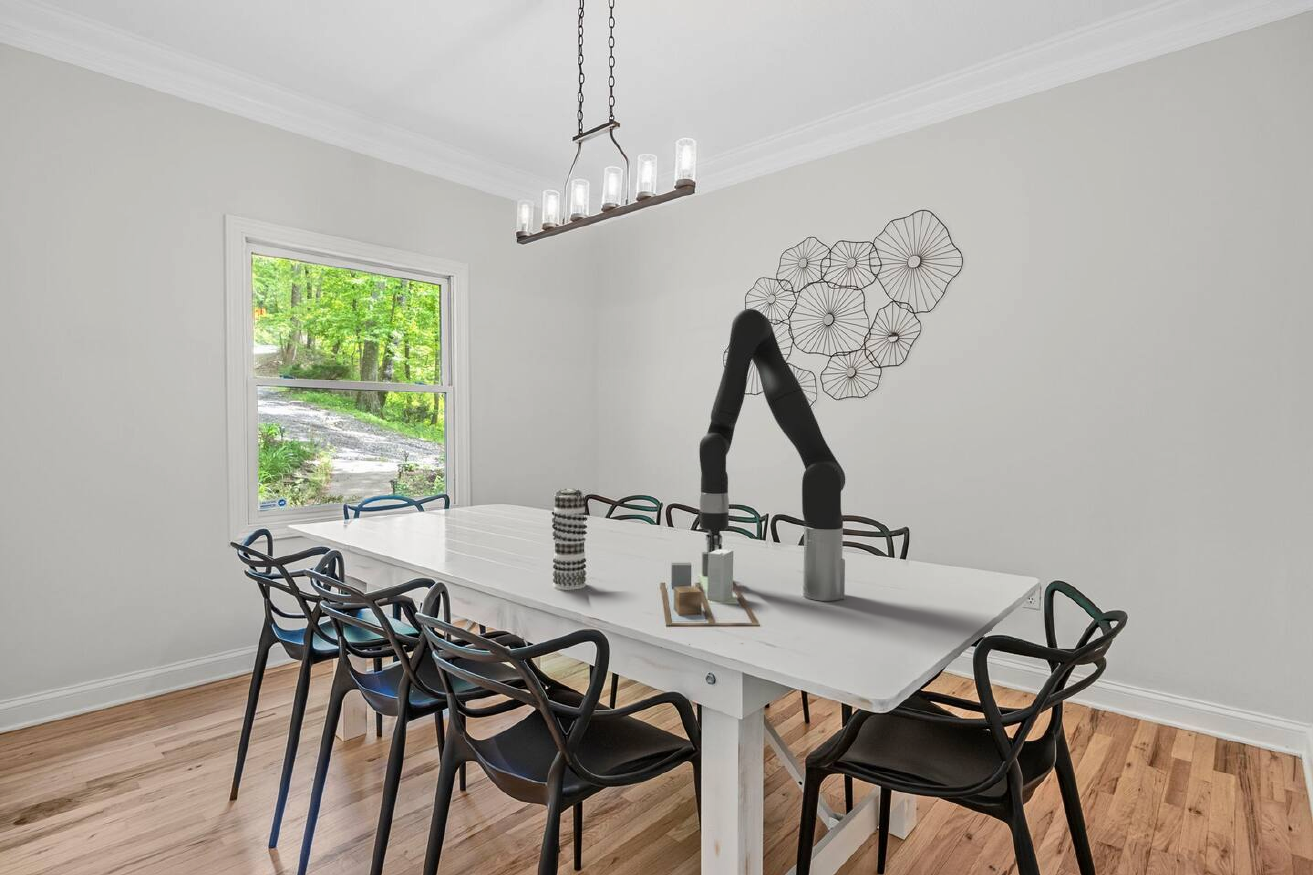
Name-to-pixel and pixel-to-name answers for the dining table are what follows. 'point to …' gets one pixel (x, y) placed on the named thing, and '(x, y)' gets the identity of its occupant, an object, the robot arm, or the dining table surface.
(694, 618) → the strip
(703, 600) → the lane rails
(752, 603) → the dining table surface
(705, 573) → the strip
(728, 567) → the skincare box
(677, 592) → the walnut cube
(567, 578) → the decorative candle
